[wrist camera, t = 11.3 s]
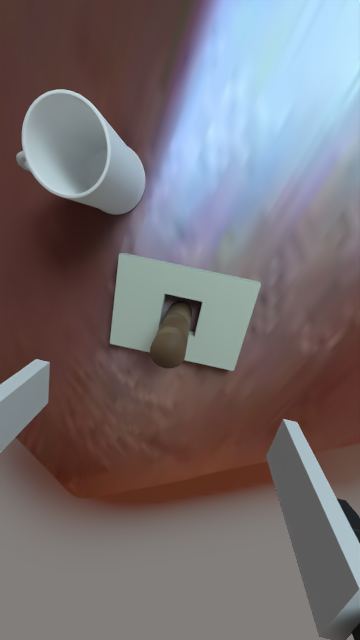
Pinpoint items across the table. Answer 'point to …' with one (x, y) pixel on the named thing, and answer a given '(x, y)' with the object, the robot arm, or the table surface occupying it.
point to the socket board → (168, 278)
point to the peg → (172, 336)
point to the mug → (80, 154)
